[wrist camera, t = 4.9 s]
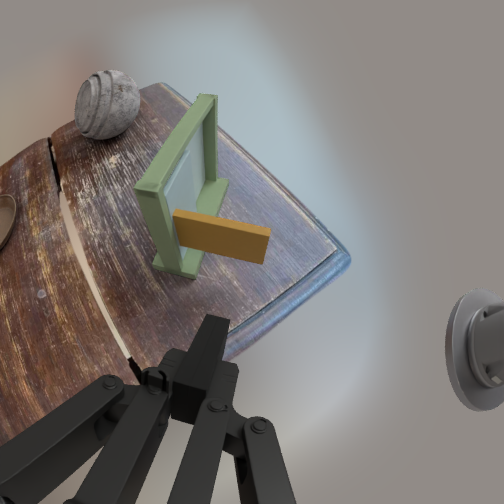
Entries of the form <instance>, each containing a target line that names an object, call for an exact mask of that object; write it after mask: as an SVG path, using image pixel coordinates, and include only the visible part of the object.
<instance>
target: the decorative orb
mask: <svg viewBox="0 0 504 504" xmlns="http://www.w3.org/2000/svg"><path fill="white" fill-rule="evenodd" d="M139 107H140V93H139V89H138V87H137V85H136V83H135V82H134V81H133V79H132V78H130V77H129V76H128V75H126V74H124V73H122V72H120V71H114V70H106V71H104V72H102V71H99V72H96V73H94V74H92V75H91V76H90V77H89V79H88V80H86V81H85V82H84V83H83V84H82V86H81V88H80V90H79V93H78V96H77V100H76V105H75V123H76V126H77V128H79V130H80V132H81V133H82V135H83V136H85V137H87V138H90V137H91V138H93V139H99V140H102V139H109V138H112V137H115V136H117V135H119V134H121V133H122V132H124V131H125V130H126V129H127V128H128V127H129V126H130V125H131V124H132V122H133V121H134V119H135V118H136V116H137V113H138V110H139Z"/></svg>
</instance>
